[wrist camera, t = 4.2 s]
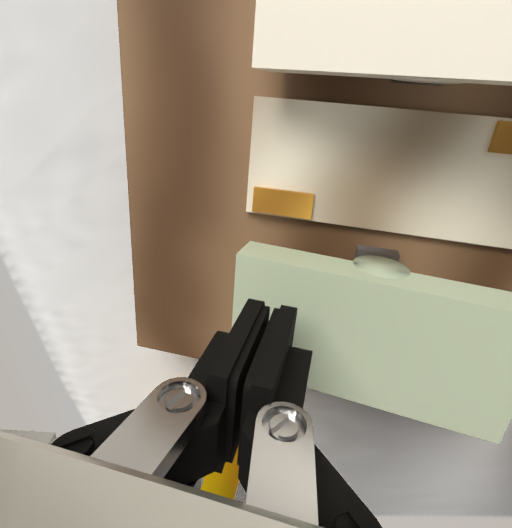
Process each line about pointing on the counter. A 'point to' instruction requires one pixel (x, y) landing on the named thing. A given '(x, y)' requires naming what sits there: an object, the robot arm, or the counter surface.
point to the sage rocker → (391, 335)
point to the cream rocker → (387, 39)
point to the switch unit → (293, 167)
